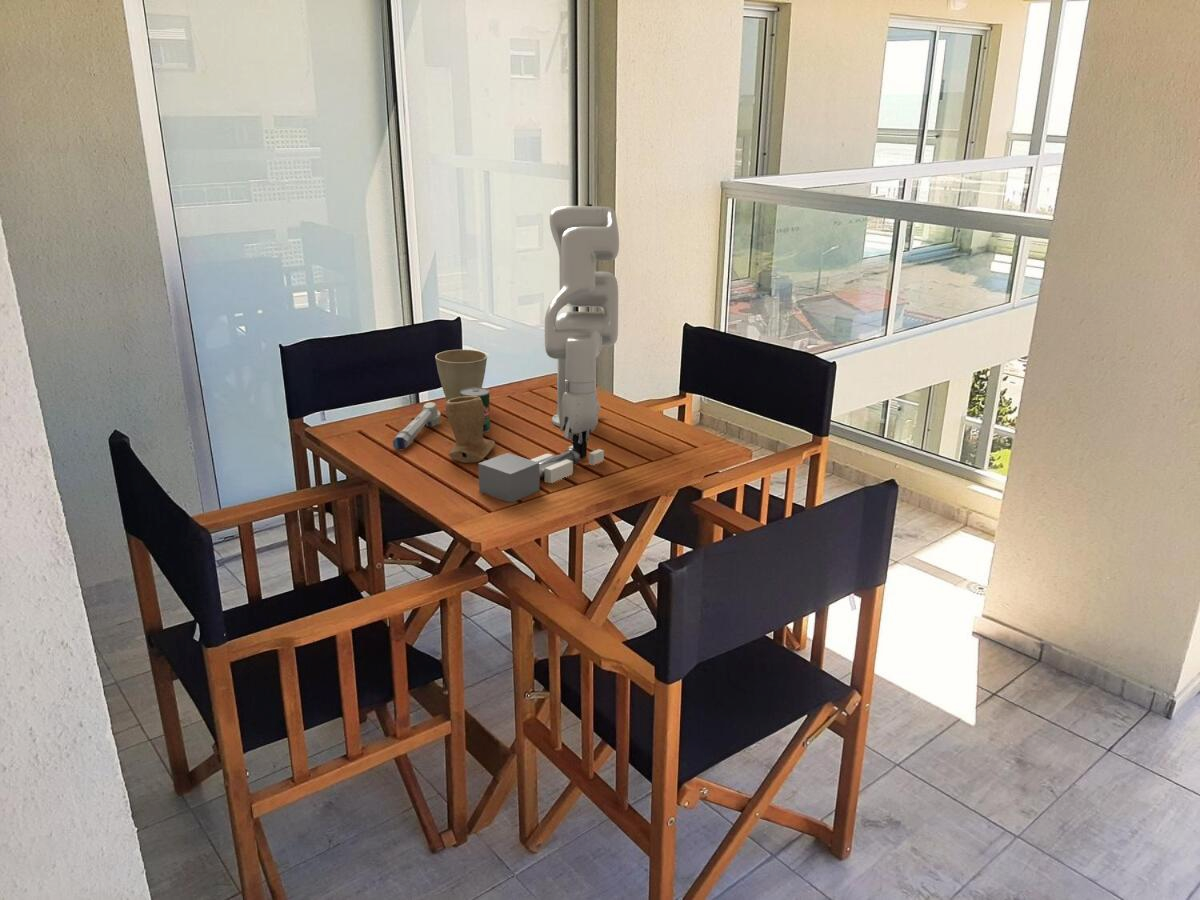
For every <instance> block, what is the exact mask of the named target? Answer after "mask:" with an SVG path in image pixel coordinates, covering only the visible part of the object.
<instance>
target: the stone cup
mask: <svg viewBox="0 0 1200 900" xmlns="http://www.w3.org/2000/svg"><path fill="white" fill-rule="evenodd" d="M445 409H446V411H445V412H446V413H445V414H446V418H447V420H448V423H449V426H450V427H451V430H452V432H453V435H454V439H455V444H454V445H453V446H452V449H451V450H450V451H449V452H448V457H450V458H452V459H454V460H455V461H457V462H460V463H465V464H471V463H472V464H473V463H477V462H480V461H483V460H484V459H485V457H487V456H488V454H490V452H491V451H492V449H493V448H494V446H495V444H496V442H495V441H494V440H493V439H489V438H488V439H486V438H484V435H483V434H484V433H483V424H484V419H485V415H484V406H483V402H482V400H481V398H480V397H478V396H463V397H457V398H452V399H450V400H448V401H447V400H446V402H445Z"/></svg>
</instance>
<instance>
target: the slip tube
mask: <svg viewBox="0 0 1200 900" xmlns="http://www.w3.org/2000/svg"><path fill="white" fill-rule="evenodd" d="M566 459H567V460H571V461H573V466H575V465H577V464H579V462H580V461H581V458H580V454H579V452H578V451H577V450H576V449H574V448H572V449H569V450H568V449H567V450H565V452H562V453H560V454H557V455H555V456H554V455H553V457H552V458H549V459H547V460H544V461H542V462H539V479H540V478H542V477H545V468H546V467H549V466H551V465H554V464H556V463H559V462H561V461H564V460H566Z"/></svg>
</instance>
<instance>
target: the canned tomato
mask: <svg viewBox="0 0 1200 900" xmlns="http://www.w3.org/2000/svg"><path fill="white" fill-rule="evenodd" d="M460 393H461V397H463V396H478V397H480V398H481V400H482V402H483V406H484V415H485V419H484V424H483V434H486V433H489V431H491V417H490V416H491V413H490V412H491V409H490V408H491V406H490V405H491V402H490V401H491V400H490V390H489V388H488V389H487V388H485V387H482V388H480V387H472V388H466V389H463V390H461V392H460Z"/></svg>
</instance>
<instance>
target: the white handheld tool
mask: <svg viewBox="0 0 1200 900" xmlns="http://www.w3.org/2000/svg"><path fill="white" fill-rule="evenodd" d="M440 418H441V412H440V411H439V410H438V407H437V404H436V403H435V402H431V401H430V402H426V403H424V405H423V406H422V411H421V412H420V413H419V414H418V415H417V416H416V417H415V418H414V419H412V421H411V422H410V423H409V424H408V425H406V427H405V428H404V429H403V430H402V429H401V430H400V431H398V432H397V433H396V434H395V436H396V437H395V438H394V439H393V440H392V447H393V448H394V449H395V450H398V449H404V450H403V451H405V450H406V449H407V448H408V447H409V446H410V445H412V444H413V443H414V439H415V438H416V437H417V435H418V434H419V433H420V431H421V430H422V429H423V428H424V427H426V426H433V427H435V426H439V425H440V424H441V419H440ZM438 424H439V425H438ZM408 445H409V446H408Z"/></svg>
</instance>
